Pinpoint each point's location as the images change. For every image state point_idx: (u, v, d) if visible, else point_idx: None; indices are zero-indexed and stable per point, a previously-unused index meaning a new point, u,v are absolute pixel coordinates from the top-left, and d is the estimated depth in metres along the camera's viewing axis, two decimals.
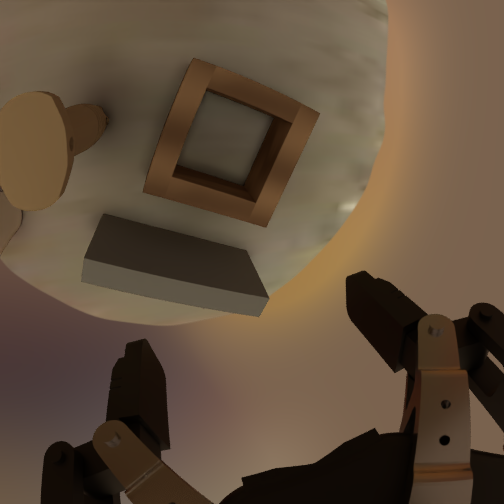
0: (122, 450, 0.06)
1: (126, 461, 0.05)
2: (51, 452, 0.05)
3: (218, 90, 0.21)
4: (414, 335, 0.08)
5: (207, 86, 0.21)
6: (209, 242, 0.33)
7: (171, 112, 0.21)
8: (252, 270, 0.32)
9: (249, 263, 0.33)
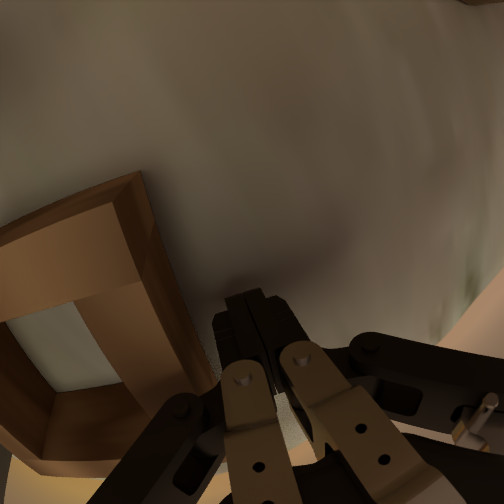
0: (246, 393, 0.07)
1: (270, 393, 0.07)
2: (176, 402, 0.07)
3: (92, 329, 0.07)
4: None
5: (76, 300, 0.06)
6: None
7: None
8: (3, 467, 0.10)
9: (7, 454, 0.11)
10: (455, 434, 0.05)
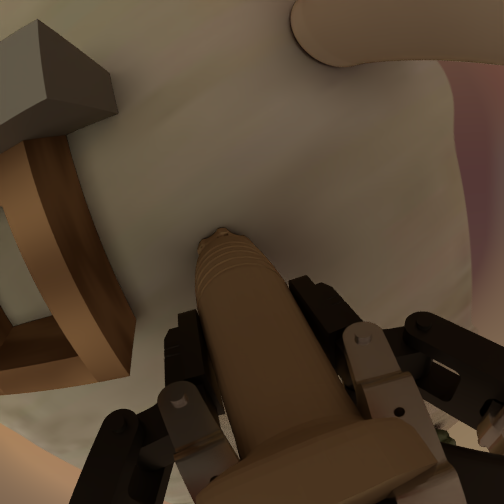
0: (185, 413, 0.07)
1: (199, 417, 0.06)
2: (113, 419, 0.06)
3: (65, 360, 0.12)
4: (343, 342, 0.08)
5: (79, 357, 0.12)
6: None
7: (81, 300, 0.11)
8: None
9: None
10: (480, 427, 0.05)
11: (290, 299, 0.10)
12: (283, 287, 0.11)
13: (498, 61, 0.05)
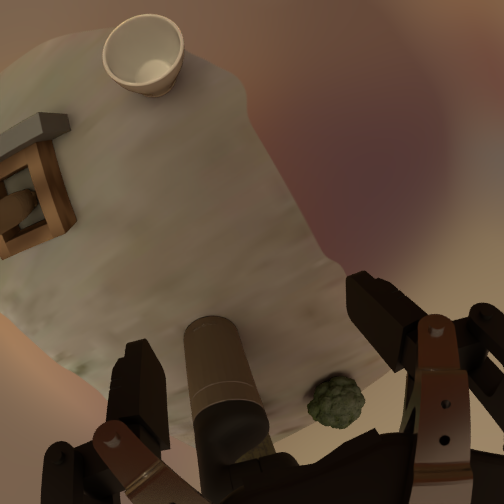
0: (122, 451, 0.06)
1: (126, 461, 0.05)
2: (51, 452, 0.05)
3: (42, 227, 0.30)
4: (414, 335, 0.08)
5: (47, 224, 0.30)
6: None
7: (51, 197, 0.29)
8: None
9: None
10: None
11: (8, 202, 0.25)
12: (11, 200, 0.26)
13: (148, 92, 0.22)
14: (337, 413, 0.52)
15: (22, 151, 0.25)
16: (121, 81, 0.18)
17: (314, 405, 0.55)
